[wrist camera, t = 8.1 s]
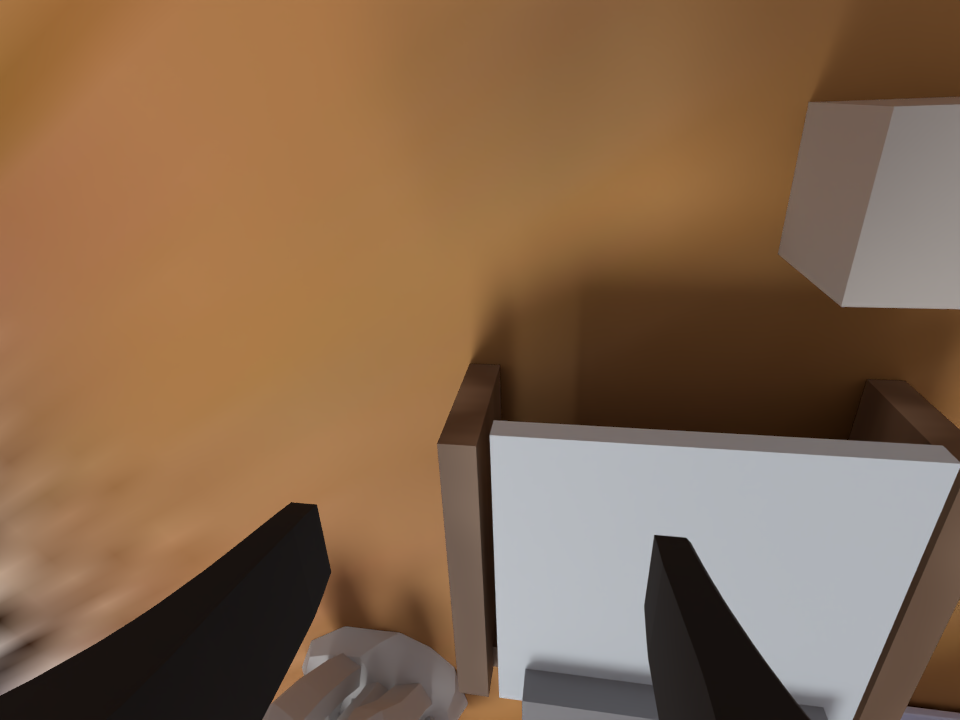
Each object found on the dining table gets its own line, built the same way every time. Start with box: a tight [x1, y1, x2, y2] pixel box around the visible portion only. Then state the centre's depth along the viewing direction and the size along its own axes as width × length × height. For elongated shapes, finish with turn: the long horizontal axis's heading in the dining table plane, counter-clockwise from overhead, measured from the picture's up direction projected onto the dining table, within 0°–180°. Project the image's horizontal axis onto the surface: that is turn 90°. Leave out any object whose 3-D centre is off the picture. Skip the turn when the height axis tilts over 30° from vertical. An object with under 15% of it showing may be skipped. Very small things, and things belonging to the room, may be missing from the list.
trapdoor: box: [490, 420, 960, 720], centre depth 17 cm, size 12×12×2 cm
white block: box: [778, 97, 960, 309], centre depth 14 cm, size 4×4×5 cm
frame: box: [437, 364, 960, 720], centre depth 20 cm, size 15×12×6 cm
